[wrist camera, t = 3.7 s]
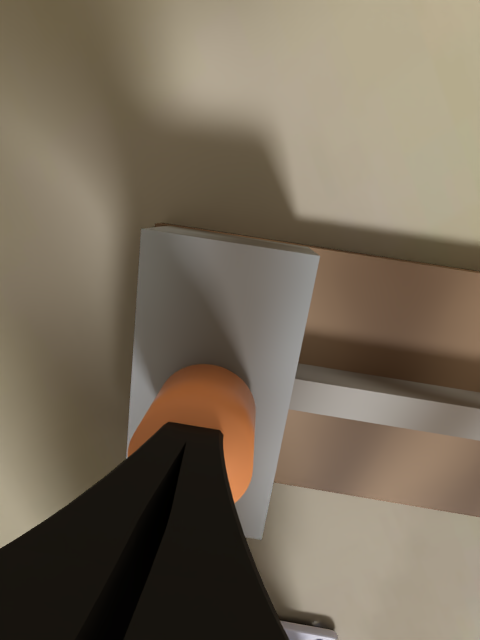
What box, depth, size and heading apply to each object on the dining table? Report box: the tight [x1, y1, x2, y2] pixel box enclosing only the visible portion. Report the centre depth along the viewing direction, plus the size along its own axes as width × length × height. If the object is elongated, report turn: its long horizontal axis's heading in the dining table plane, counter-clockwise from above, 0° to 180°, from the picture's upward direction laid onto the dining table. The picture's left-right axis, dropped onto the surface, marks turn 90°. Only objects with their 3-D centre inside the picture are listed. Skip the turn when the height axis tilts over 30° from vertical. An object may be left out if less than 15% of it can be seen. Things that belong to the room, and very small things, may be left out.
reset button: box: [128, 364, 256, 503], centre depth 10 cm, size 3×3×2 cm
